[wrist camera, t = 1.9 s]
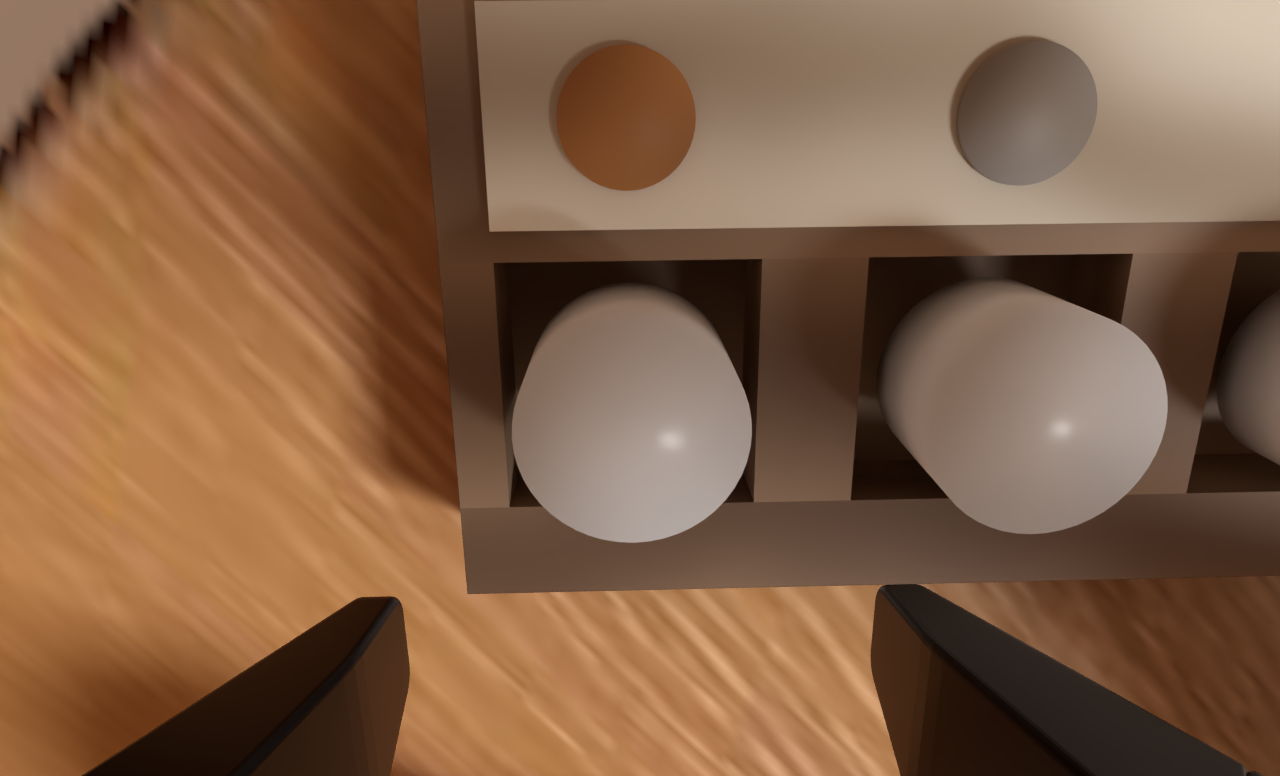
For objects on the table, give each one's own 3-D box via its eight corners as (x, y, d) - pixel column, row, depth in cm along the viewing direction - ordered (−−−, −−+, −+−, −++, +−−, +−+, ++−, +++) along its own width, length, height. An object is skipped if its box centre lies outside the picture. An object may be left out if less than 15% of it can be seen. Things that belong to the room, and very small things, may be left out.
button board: (1328, 509, 21) (1457, 580, 18) (488, 527, 20) (464, 603, 17) (1473, -19, 17) (1670, -50, 14) (448, -11, 17) (408, -41, 13)
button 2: (727, 470, 17) (748, 540, 14) (535, 474, 17) (518, 545, 14) (731, 280, 16) (755, 316, 13) (524, 284, 16) (504, 320, 13)
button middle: (1058, 463, 17) (1143, 532, 15) (869, 467, 17) (919, 537, 14) (1088, 275, 16) (1189, 309, 13) (885, 278, 16) (942, 313, 13)
